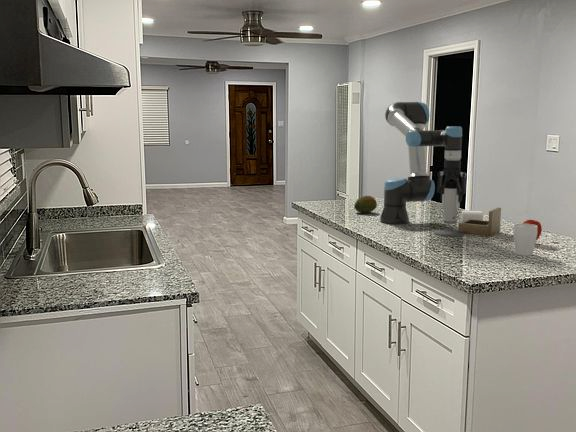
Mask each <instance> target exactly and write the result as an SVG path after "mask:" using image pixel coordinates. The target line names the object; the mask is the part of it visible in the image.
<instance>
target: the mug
mask: <svg viewBox="0 0 576 432" xmlns="http://www.w3.org/2000/svg"><path fill="white" fill-rule="evenodd" d="M483 213H484V212H483V211H482V210H461V212H460V215H461V216H460V222H463V221H465V220H467V219H474V220H484V214H483Z"/></svg>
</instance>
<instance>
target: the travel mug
mask: <svg viewBox="0 0 576 432" xmlns="http://www.w3.org/2000/svg"><path fill="white" fill-rule="evenodd" d="M458 183H460V180H459V181H458ZM456 195H458V192H457V182H454V181H449V182H448V183H445V190H444V208H443V217H442V218H443V219H442V221H443V222H442V223H444V224H447V225H448V224H449V225H452V224H457V223H458V209H456Z"/></svg>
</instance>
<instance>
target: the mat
mask: <svg viewBox="0 0 576 432" xmlns="http://www.w3.org/2000/svg"><path fill="white" fill-rule="evenodd" d="M433 233H434V235H435V236H441V237H446V238H447V237H449V238H457V237H459V238H460V237H463V236H465V235H466V234H465V233H460V232H459V230H454V229H453V230H452V229H451V230H450V229H442V230H441V229H440V230H439V229H438V230H435V231H434V232H433Z"/></svg>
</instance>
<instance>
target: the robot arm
mask: <svg viewBox="0 0 576 432" xmlns="http://www.w3.org/2000/svg"><path fill="white" fill-rule="evenodd" d="M384 117H385V118H384V119H385V120H386V122H387V123H388V124H389V125H390V126H392V127H395V128H396V130H398V131H399V132H400V133H401V134H402V135H403V136H404V137H405V143H406V145H407V148H408V149H407V150H408V160H409V161H408V163H409V175H408V176H407V178H406V177H393V178H388V179H386V180H385V181H384V188H383V190H384V191H383V209H382V212H381V215H380V217H379V218H380V219H379V221H380V222H381V223H383V224H389V225H390V224H391V225H401V224H404V225H405V224H408V223H409V222H410V217H409V214H408V211H407V203H415V202H416V203H417V202H421V203H423V202H429V201H430V200H432V198H433V197H434V194H435V190H436V193H437V194H439V195H440V197H439V200H440V201H441V208H442V209H444V190H445V183H448V182H450V180H453V182H457V192H458V195H456V209H457V210H459V209H460V206H461V204H460V203H461V202H462V201H463V195H466V194H467V175H468V173H467V172H462V170H461V168H462V167H461V165H462V161H461V159H462V148H463V147H462V144H463V128H462V126H456V125H455V126H453V125H452V126H446V128H445V130H444V129H440V130H436V129H435V130H424V129H425V128H426V127H427V124H428V123H429V121H430V110H429V107H428V105H427V104H426V103H424V102H422V101H421V102H420V101H419V102H418V101H398V102H394V103H392V104H390V105H389V106H388V107H387V108H386V111H385V114H384ZM426 147H444V160H443V161H444V162H443V170H442V171H437V177H438V178H437V185H436V186H435V181H434V180H433V179H431V178H430V175H429V174H428V172H427V162H426V150H425V149H426ZM444 176H445V177H444ZM459 176H460V178H461V183H460V178H459ZM443 177H444V181H443ZM458 181H459V183H458Z"/></svg>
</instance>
